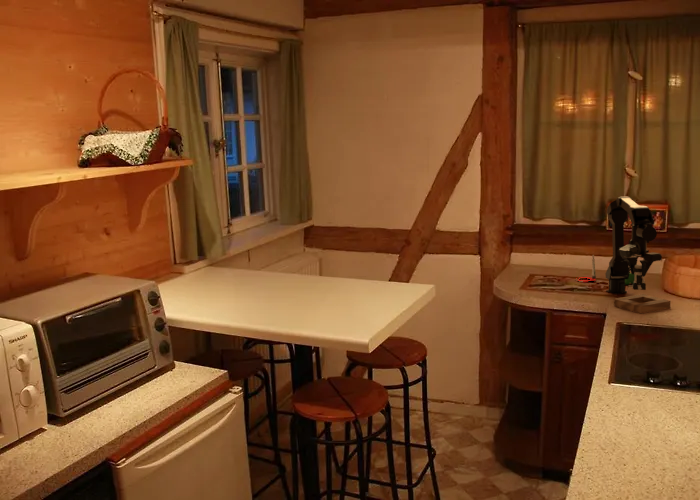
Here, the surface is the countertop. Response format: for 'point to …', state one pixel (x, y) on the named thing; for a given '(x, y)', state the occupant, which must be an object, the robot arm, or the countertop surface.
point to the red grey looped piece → (592, 272)
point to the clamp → (630, 279)
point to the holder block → (642, 303)
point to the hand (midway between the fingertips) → (638, 275)
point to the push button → (638, 278)
